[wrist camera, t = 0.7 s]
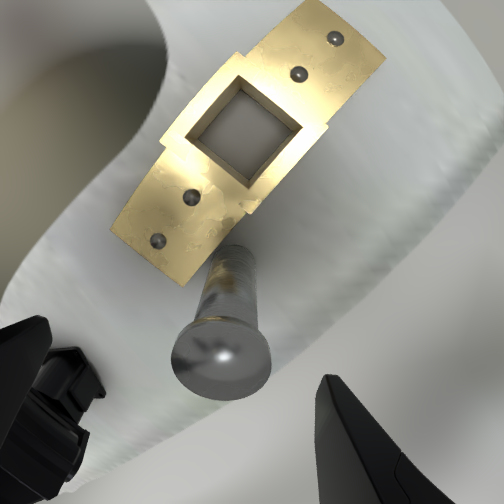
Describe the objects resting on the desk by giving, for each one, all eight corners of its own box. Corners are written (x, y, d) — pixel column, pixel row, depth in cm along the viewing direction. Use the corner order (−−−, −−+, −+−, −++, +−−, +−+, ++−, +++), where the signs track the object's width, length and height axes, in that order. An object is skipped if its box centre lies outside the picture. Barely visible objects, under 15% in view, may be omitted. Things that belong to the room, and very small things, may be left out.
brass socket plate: (184, 283, 24) (171, 312, 19) (113, 226, 22) (87, 245, 18) (382, 60, 18) (409, 45, 14) (309, -1, 17) (322, -29, 12)
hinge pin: (213, 296, 24) (190, 405, 13) (198, 245, 23) (156, 333, 12) (267, 285, 24) (279, 392, 13) (254, 232, 22) (259, 315, 12)
